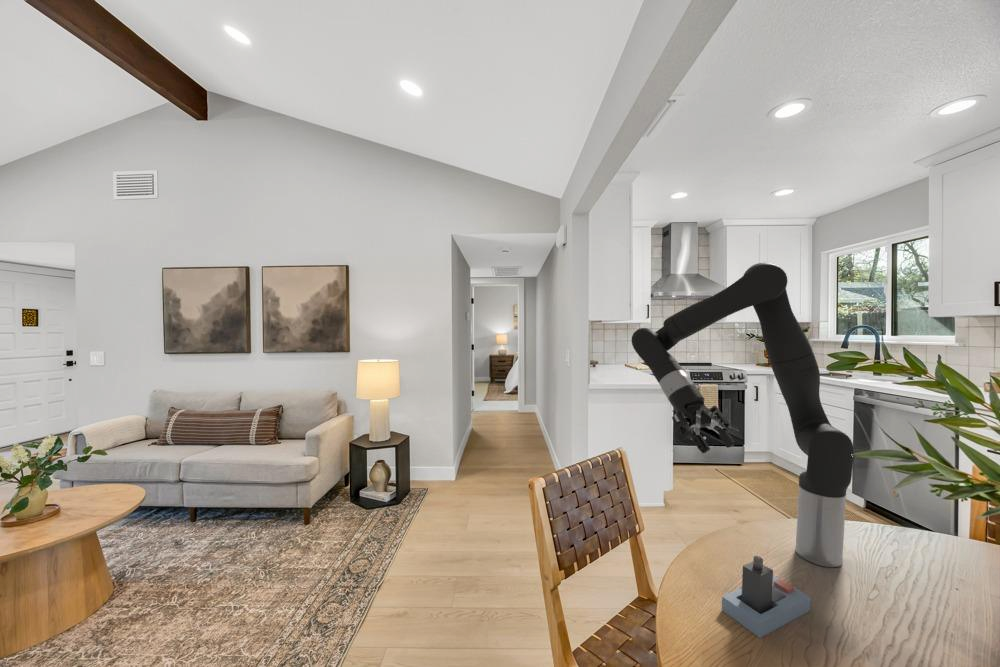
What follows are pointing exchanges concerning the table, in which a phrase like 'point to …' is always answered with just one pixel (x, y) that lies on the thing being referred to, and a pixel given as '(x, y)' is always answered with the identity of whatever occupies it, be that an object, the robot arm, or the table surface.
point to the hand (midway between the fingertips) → (719, 448)
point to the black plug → (757, 585)
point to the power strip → (784, 609)
